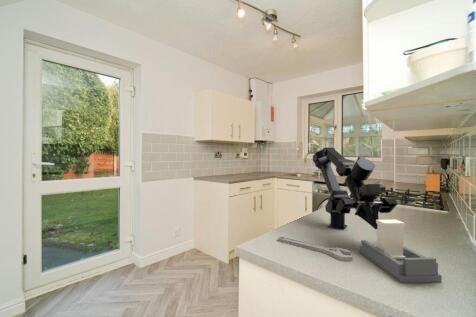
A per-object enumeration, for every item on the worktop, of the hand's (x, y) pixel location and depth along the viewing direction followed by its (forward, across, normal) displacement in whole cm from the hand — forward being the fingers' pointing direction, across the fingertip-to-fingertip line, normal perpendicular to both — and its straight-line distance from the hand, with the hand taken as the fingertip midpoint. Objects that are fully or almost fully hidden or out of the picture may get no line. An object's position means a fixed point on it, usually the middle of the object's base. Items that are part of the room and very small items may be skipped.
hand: (377, 228), depth 72 cm
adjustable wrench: (+2, -19, +10) cm, 21 cm away
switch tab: (+8, 0, 0) cm, 8 cm away
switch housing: (+11, 0, 0) cm, 11 cm away
